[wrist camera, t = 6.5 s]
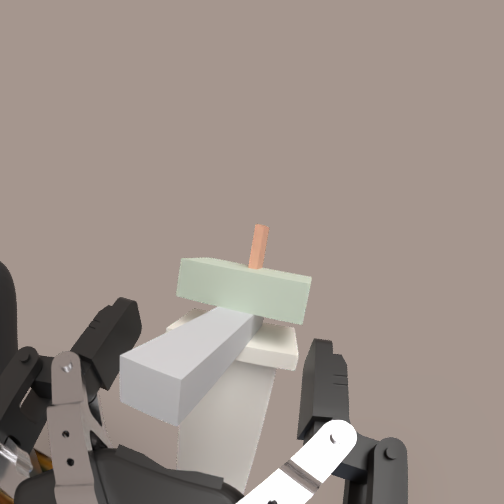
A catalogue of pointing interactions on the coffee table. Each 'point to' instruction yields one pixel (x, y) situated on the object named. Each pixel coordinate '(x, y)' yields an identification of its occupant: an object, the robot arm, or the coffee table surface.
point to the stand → (234, 406)
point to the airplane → (209, 331)
